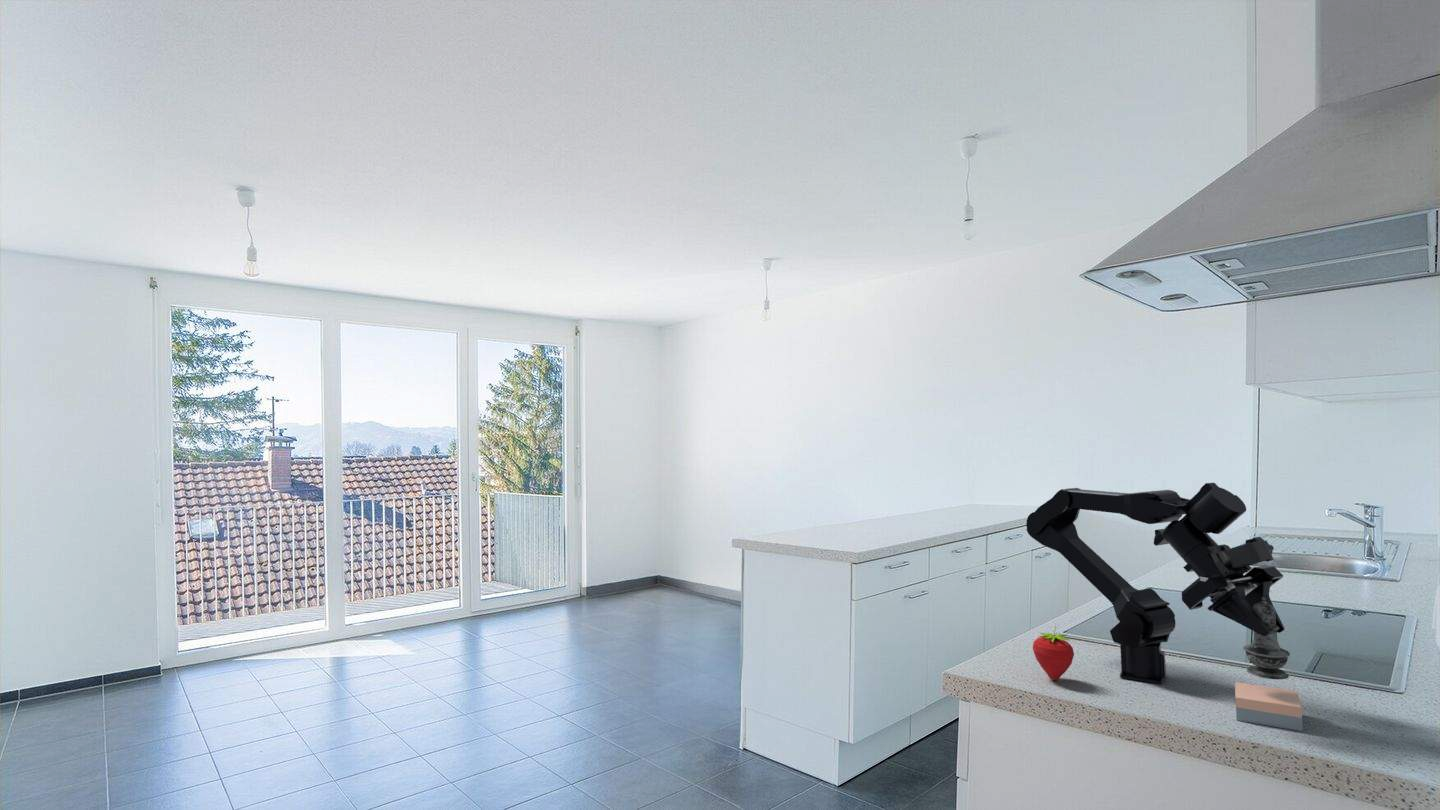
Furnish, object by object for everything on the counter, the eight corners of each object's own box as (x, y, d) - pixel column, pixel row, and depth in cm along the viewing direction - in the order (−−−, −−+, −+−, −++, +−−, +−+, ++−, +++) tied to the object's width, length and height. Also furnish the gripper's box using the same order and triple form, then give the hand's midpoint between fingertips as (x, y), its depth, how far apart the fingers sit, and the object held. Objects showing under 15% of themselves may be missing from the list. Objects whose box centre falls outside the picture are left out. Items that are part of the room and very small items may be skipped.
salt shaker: (1283, 668, 115) (1279, 593, 115) (1297, 681, 109) (1293, 602, 109) (1239, 665, 117) (1235, 591, 117) (1251, 678, 111) (1247, 600, 112)
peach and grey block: (1236, 720, 112) (1235, 697, 112) (1236, 703, 118) (1235, 682, 118) (1302, 731, 107) (1301, 707, 107) (1298, 713, 113) (1297, 691, 114)
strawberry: (1048, 671, 136) (1046, 618, 136) (1083, 683, 129) (1081, 627, 129) (1025, 676, 133) (1023, 622, 134) (1060, 689, 127) (1057, 632, 127)
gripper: (1197, 525, 113) (1279, 612, 103) (1267, 516, 121) (1350, 596, 111) (1151, 567, 120) (1223, 652, 110) (1220, 556, 128) (1293, 635, 118)
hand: (1274, 633), depth 112 cm, fingers closed on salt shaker, 4 cm apart
